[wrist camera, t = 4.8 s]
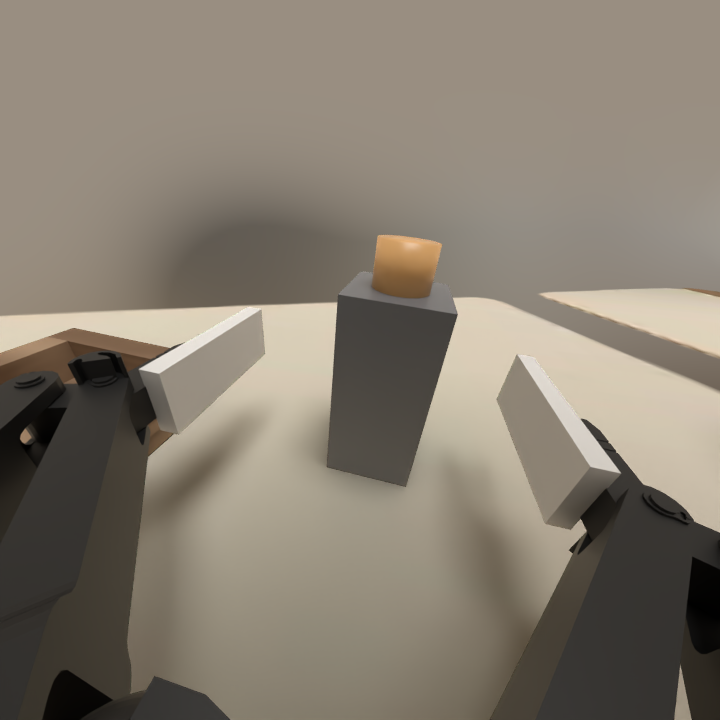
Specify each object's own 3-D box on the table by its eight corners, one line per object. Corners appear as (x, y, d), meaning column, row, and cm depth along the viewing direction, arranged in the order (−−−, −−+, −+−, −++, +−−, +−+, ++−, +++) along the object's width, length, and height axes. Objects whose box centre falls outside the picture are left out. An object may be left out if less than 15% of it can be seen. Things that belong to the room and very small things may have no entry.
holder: (46, 547, 11) (-4, 494, 9) (-142, 485, 12) (-218, 427, 10) (213, 397, 19) (203, 355, 18) (93, 370, 21) (73, 328, 19)
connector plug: (405, 486, 15) (475, 256, 9) (327, 466, 15) (341, 237, 9) (409, 429, 19) (459, 241, 13) (346, 415, 19) (365, 229, 13)
